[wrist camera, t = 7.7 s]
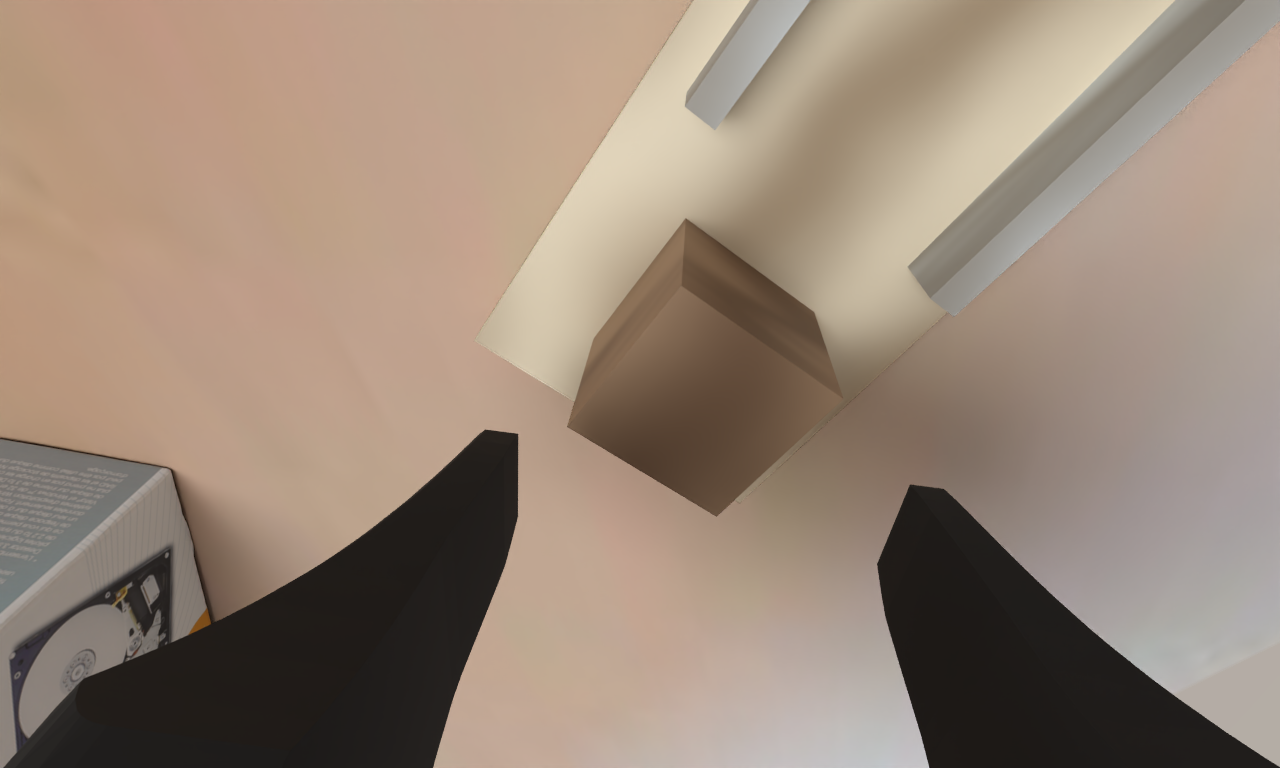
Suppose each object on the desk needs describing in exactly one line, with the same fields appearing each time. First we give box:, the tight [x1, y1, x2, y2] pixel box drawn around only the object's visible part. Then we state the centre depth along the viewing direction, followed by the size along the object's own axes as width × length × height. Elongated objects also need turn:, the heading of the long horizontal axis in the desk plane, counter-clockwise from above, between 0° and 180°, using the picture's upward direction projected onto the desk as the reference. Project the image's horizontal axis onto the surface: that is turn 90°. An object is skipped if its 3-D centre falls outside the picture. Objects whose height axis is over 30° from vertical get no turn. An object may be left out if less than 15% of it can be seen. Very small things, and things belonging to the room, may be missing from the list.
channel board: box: [474, 0, 1280, 503], centre depth 15 cm, size 10×26×4 cm, turn 145°
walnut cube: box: [567, 218, 843, 517], centre depth 17 cm, size 4×4×4 cm
